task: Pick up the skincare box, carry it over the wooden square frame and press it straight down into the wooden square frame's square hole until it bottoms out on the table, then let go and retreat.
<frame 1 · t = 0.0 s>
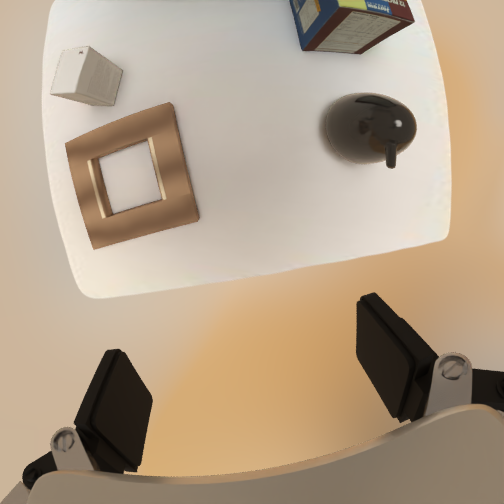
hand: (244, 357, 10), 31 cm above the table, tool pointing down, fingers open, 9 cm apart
wooden square frame: (130, 177, 36), on the table
skincare box: (107, 88, 31), on the table
pump dispenser: (347, 131, 37), on the table
protein box: (322, 15, 30), on the table
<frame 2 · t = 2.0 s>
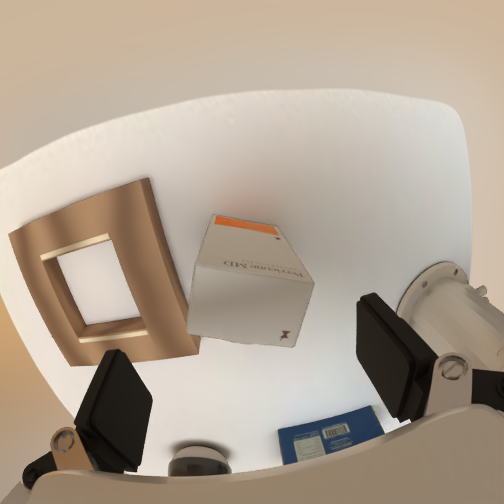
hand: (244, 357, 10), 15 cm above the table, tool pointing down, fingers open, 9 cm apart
wooden square frame: (100, 284, 25), on the table
skincare box: (240, 240, 25), on the table
pump dispenser: (200, 451, 36), on the table
protein box: (324, 432, 37), on the table
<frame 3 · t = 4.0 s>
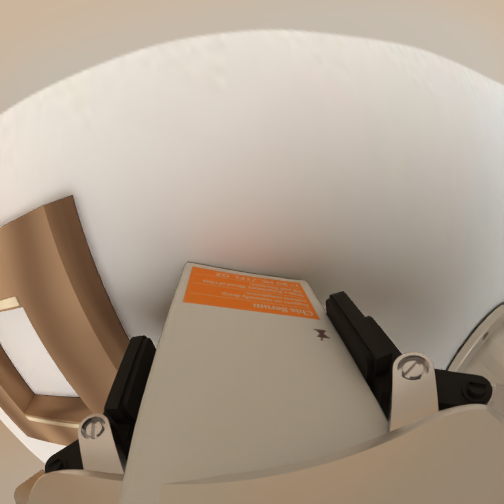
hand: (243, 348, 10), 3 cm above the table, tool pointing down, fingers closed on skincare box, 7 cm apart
wooden square frame: (36, 352, 13), on the table
skincare box: (238, 304, 14), on the table, touching gripper
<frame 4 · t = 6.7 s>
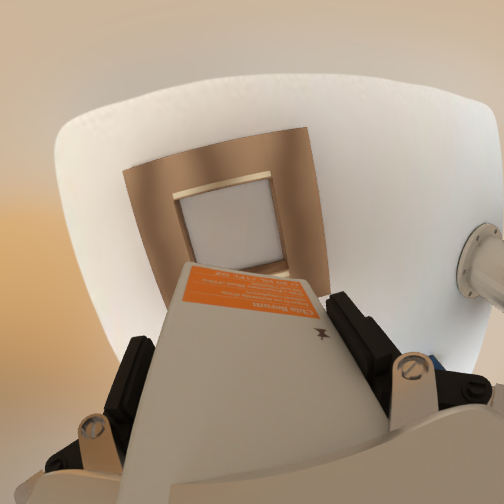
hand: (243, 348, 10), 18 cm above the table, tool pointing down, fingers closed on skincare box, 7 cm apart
wooden square frame: (232, 229, 27), on the table
skincare box: (238, 304, 14), point 15 cm above the table, touching gripper
when the fingers open (4 cm above the table, at t = 9.9 s): skincare box stays where it is, resting in wooden square frame.
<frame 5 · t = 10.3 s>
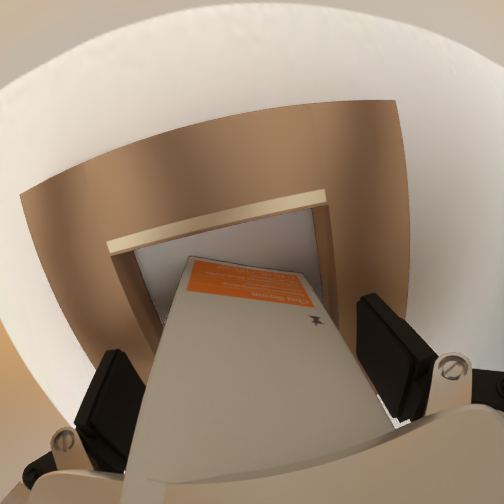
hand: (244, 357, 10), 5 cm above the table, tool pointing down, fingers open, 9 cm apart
wooden square frame: (237, 299, 14), on the table
skincare box: (238, 296, 14), resting in wooden square frame
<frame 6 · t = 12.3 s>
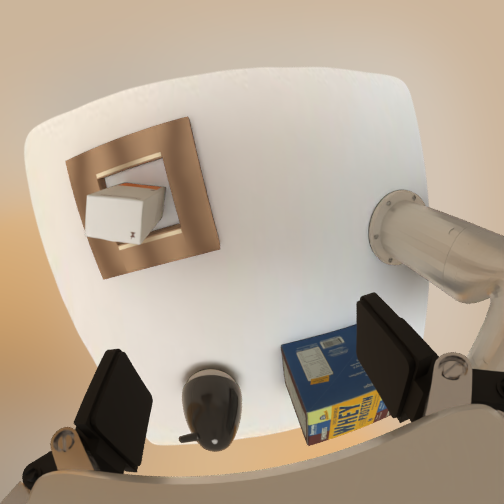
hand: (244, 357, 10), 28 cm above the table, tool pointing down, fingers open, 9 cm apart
wooden square frame: (142, 199, 33), on the table
skincare box: (142, 199, 34), resting in wooden square frame
pump dispenser: (210, 379, 46), on the table
protein box: (322, 353, 47), on the table
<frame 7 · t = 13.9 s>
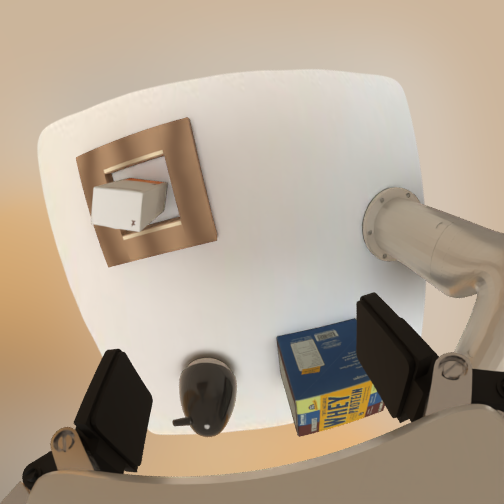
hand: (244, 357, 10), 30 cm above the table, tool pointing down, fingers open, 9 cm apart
wooden square frame: (146, 193, 36), on the table
skincare box: (146, 193, 36), resting in wooden square frame
pump dispenser: (208, 368, 48), on the table
protein box: (317, 347, 49), on the table
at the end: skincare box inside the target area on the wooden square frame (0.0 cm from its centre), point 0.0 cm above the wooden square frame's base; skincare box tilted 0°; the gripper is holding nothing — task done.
